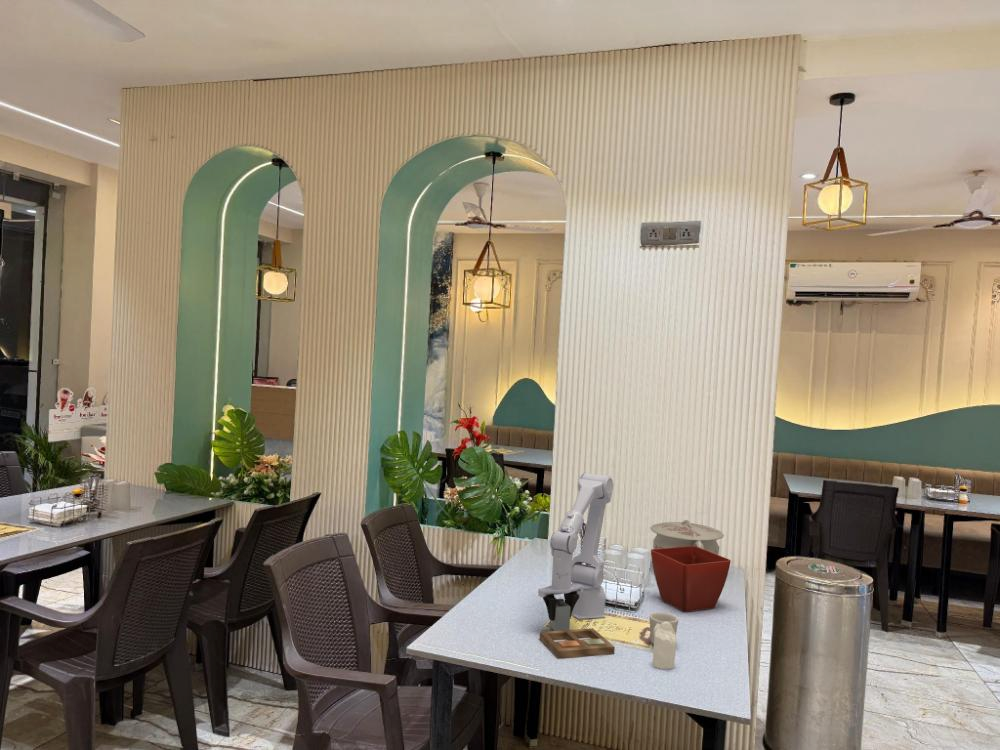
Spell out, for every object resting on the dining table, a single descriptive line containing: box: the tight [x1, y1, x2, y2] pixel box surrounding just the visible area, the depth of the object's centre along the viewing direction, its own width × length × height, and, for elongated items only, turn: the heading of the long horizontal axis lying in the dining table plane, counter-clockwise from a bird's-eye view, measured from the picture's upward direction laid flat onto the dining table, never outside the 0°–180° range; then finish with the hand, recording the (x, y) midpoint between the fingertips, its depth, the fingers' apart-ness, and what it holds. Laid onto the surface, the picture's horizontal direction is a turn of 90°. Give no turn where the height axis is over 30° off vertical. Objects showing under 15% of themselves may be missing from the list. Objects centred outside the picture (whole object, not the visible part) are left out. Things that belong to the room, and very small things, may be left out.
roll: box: [652, 621, 677, 670], centre depth 197 cm, size 6×12×6 cm
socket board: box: [539, 628, 616, 660], centre depth 207 cm, size 16×14×2 cm
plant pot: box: [650, 546, 732, 613], centre depth 248 cm, size 19×19×17 cm
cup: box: [649, 611, 679, 645], centre depth 210 cm, size 11×8×8 cm
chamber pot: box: [649, 519, 725, 556], centre depth 285 cm, size 28×28×21 cm
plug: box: [548, 598, 571, 631], centre depth 219 cm, size 4×4×8 cm
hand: (559, 618), depth 219 cm, fingers closed on plug, 5 cm apart
